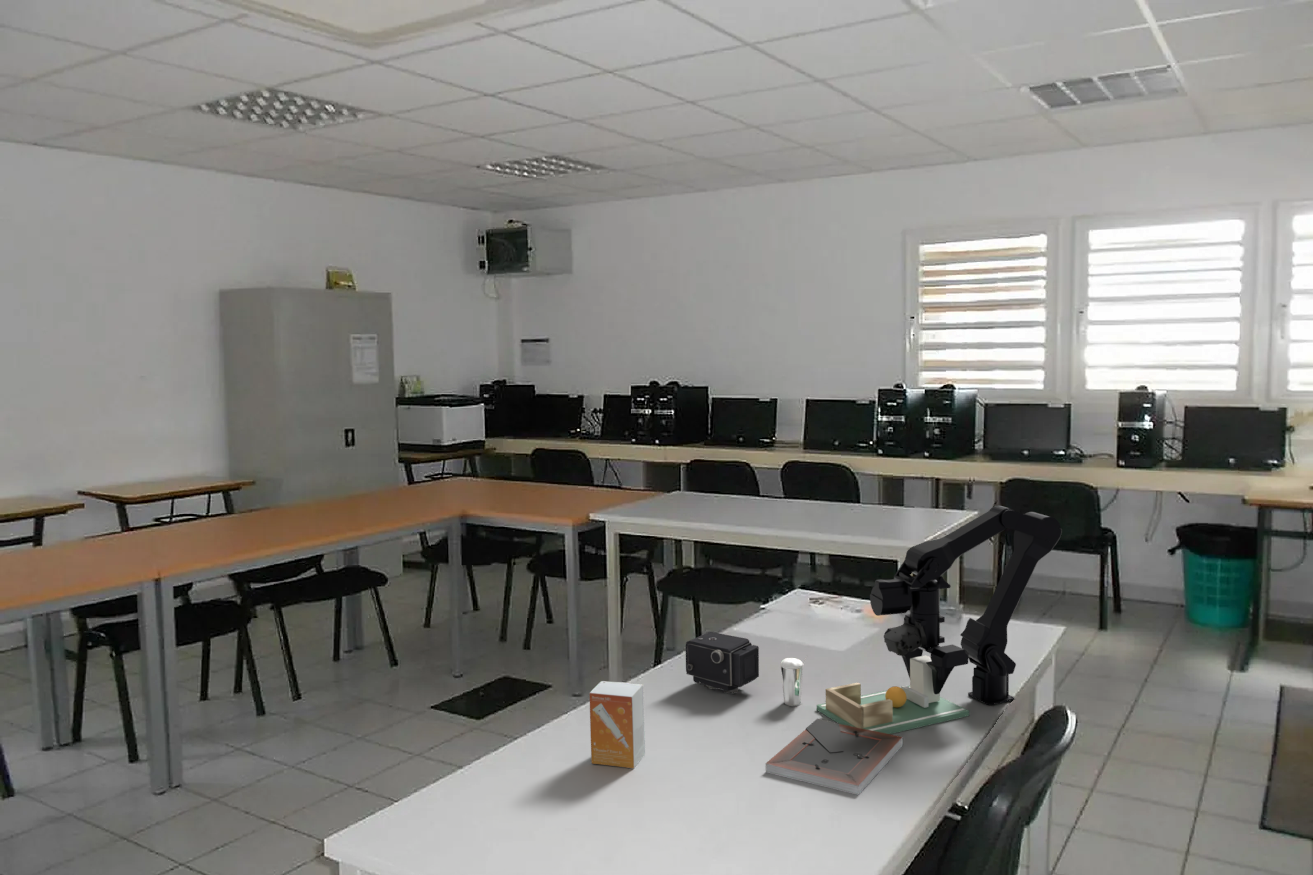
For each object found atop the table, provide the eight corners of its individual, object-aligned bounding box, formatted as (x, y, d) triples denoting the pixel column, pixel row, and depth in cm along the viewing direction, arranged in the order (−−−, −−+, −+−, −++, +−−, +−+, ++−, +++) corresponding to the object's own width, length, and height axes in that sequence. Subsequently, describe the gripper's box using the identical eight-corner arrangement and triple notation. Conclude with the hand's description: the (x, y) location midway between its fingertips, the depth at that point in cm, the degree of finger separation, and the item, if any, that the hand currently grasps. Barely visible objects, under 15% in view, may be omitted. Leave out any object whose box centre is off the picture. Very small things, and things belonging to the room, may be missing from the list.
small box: (590, 764, 165) (588, 692, 164) (603, 749, 171) (601, 679, 170) (634, 769, 162) (632, 696, 161) (646, 754, 169) (643, 683, 167)
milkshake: (807, 708, 187) (806, 659, 186) (780, 707, 188) (779, 658, 188) (808, 699, 192) (807, 651, 191) (781, 698, 193) (780, 650, 192)
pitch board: (915, 689, 196) (915, 684, 196) (969, 715, 181) (969, 710, 181) (816, 709, 186) (816, 704, 186) (865, 739, 172) (865, 733, 172)
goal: (857, 702, 187) (857, 682, 187) (892, 721, 177) (892, 700, 177) (825, 708, 184) (825, 688, 184) (859, 729, 174) (859, 708, 174)
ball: (897, 701, 187) (897, 682, 186) (910, 708, 183) (910, 688, 183) (881, 705, 185) (881, 685, 185) (894, 712, 181) (893, 692, 181)
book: (817, 731, 178) (765, 776, 160) (817, 718, 178) (765, 762, 160) (902, 749, 169) (858, 799, 151) (902, 735, 169) (858, 784, 151)
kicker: (921, 691, 191) (921, 653, 190) (944, 703, 184) (944, 663, 184) (901, 696, 189) (901, 657, 188) (924, 707, 182) (924, 667, 182)
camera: (682, 694, 200) (741, 702, 190) (676, 641, 199) (735, 647, 190) (711, 679, 208) (769, 686, 198) (705, 628, 207) (763, 633, 198)
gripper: (862, 605, 190) (862, 680, 192) (922, 629, 173) (922, 711, 175) (907, 597, 195) (907, 671, 196) (970, 620, 178) (970, 701, 179)
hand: (925, 688), depth 187 cm, fingers open, 7 cm apart
